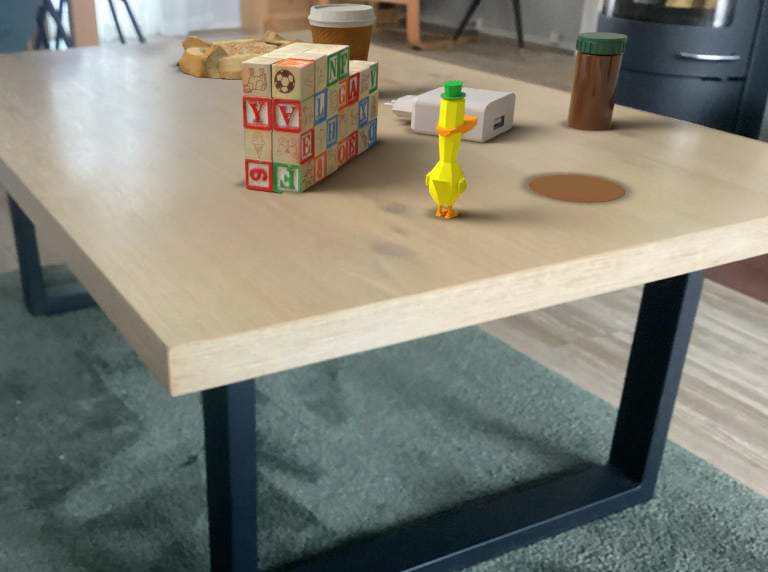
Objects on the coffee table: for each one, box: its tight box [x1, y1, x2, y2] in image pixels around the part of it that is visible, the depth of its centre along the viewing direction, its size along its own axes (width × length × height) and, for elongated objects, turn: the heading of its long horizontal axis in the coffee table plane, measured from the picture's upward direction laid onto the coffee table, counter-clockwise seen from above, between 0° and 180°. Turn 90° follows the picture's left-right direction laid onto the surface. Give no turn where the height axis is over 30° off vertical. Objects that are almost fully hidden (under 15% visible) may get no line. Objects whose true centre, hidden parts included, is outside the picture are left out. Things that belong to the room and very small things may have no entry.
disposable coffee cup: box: [307, 3, 377, 61], centre depth 122 cm, size 10×10×12 cm
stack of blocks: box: [241, 42, 379, 194], centre depth 90 cm, size 21×6×12 cm, turn 155°
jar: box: [566, 50, 624, 132], centre depth 104 cm, size 5×5×10 cm
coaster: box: [528, 174, 626, 204], centre depth 84 cm, size 9×9×1 cm
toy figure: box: [425, 80, 478, 219], centre depth 75 cm, size 7×4×12 cm, turn 142°
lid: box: [575, 31, 628, 54], centre depth 102 cm, size 6×6×2 cm
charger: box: [383, 85, 517, 144], centre depth 106 cm, size 5×9×15 cm
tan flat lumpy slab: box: [175, 29, 307, 80], centre depth 146 cm, size 24×24×5 cm
